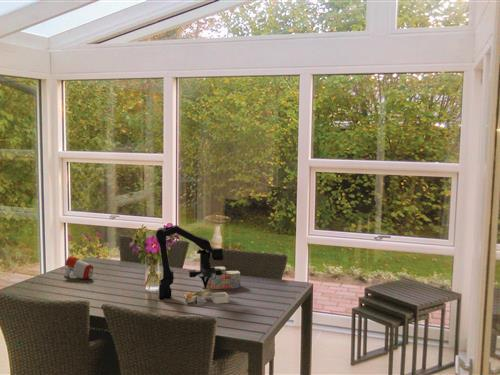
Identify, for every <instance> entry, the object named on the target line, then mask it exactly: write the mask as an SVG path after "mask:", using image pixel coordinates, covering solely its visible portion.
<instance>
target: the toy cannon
mask: <svg viewBox="0 0 500 375" xmlns="http://www.w3.org/2000/svg"><path fill="white" fill-rule="evenodd" d="M64 264H65V266H67V268H66V270H65V272H64V277H66V278H69V277H70V275H71V272H72V275H73V276H74V277H75V278H79V279H81V280H82V281H83V280H84V281H85V280H88V279H89V278H93V277H94V273H93V272H94V266H93V265H92V263H87V262H85V261H84V260H81V259H79V258H77V257H75V256H74V257H73V256H68V257H67V259H66V260H65V263H64Z"/></svg>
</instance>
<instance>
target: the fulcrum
mask: <svg viewBox="0 0 500 375" xmlns="http://www.w3.org/2000/svg"><path fill="white" fill-rule="evenodd" d="M196 292H197V291H194V293H196ZM192 303H193V304H194V306H199V305H202V306H203V305H205V302H204V301H203V298H202V296H197V300H195V301H192Z"/></svg>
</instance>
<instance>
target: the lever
mask: <svg viewBox="0 0 500 375" xmlns="http://www.w3.org/2000/svg"><path fill="white" fill-rule="evenodd" d="M195 292H196V293H195ZM195 292H193V293H192V295H193V296H192V297H191V298H187V297H186V294H183V297H184V300H185V302H186V304H189V303H193V301H195V300H197V296H202V299H204V298H208V297H211V293H212V291H210V289H208V288H207V287H204V286H202V287H200V291H195Z"/></svg>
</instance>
